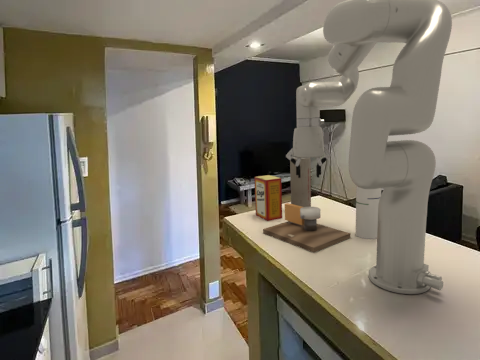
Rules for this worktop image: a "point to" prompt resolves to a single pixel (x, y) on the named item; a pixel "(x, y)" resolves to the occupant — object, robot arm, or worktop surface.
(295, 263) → the worktop surface
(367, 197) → the cylindrical container
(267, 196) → the baking soda box
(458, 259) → the worktop surface
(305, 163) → the thermos bottle
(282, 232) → the post base
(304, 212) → the cap
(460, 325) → the worktop surface
